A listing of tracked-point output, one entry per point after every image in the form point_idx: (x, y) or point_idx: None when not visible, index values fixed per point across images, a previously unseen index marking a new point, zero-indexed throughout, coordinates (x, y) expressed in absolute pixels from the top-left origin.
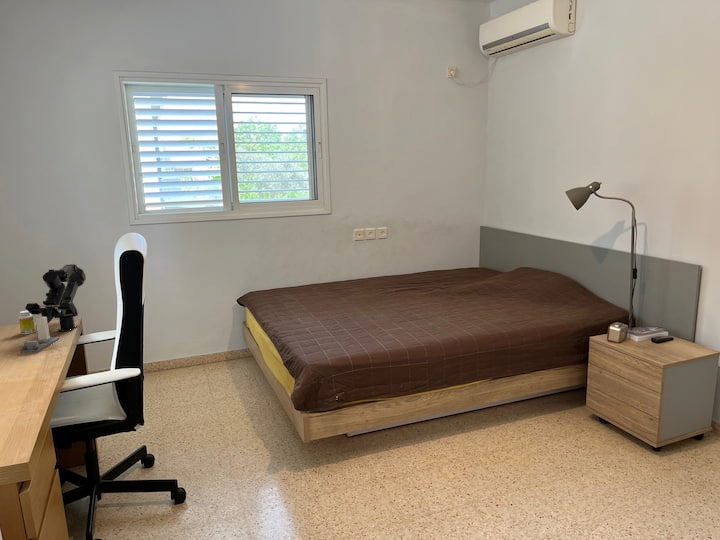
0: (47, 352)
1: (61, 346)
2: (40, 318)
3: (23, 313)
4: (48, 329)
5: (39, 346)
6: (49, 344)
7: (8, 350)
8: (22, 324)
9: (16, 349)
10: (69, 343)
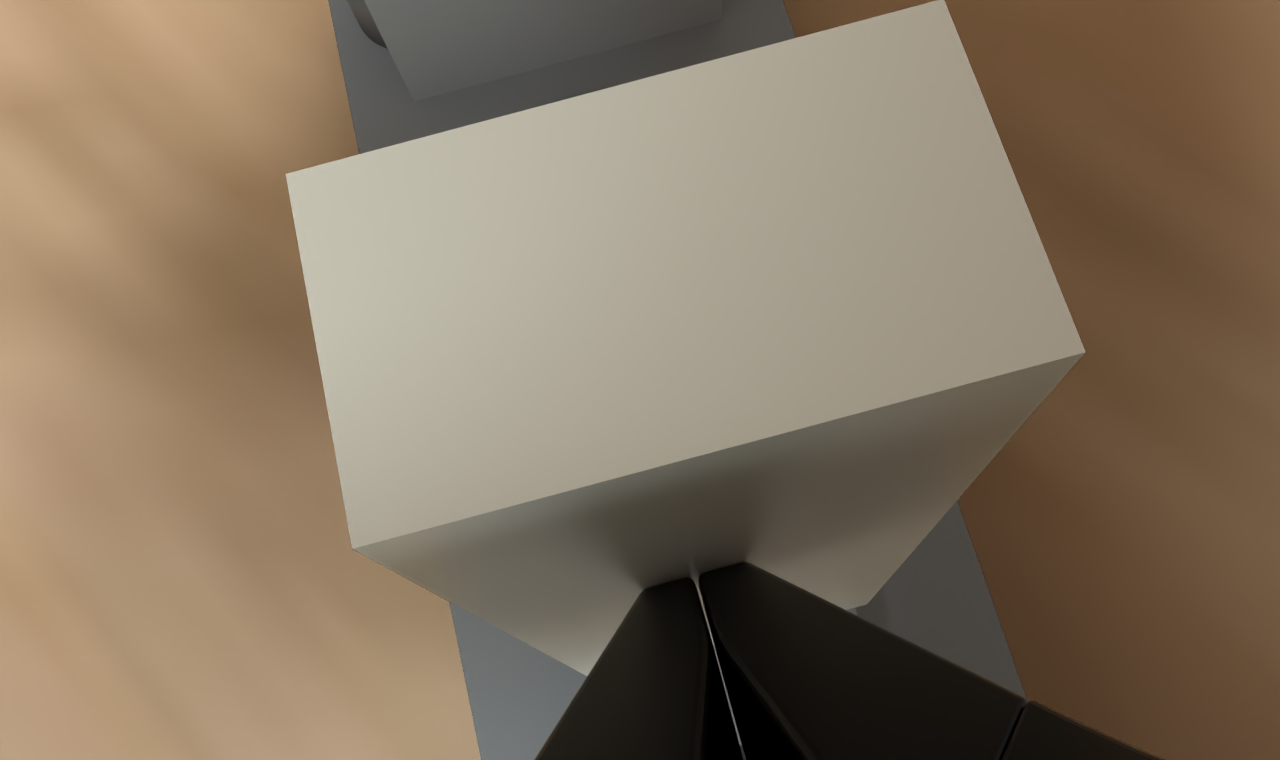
0: (141, 80)
1: (76, 488)
2: (565, 124)
3: None
4: (541, 646)
5: None
6: None
7: (1253, 5)
8: None
9: (1116, 95)
10: (6, 750)
